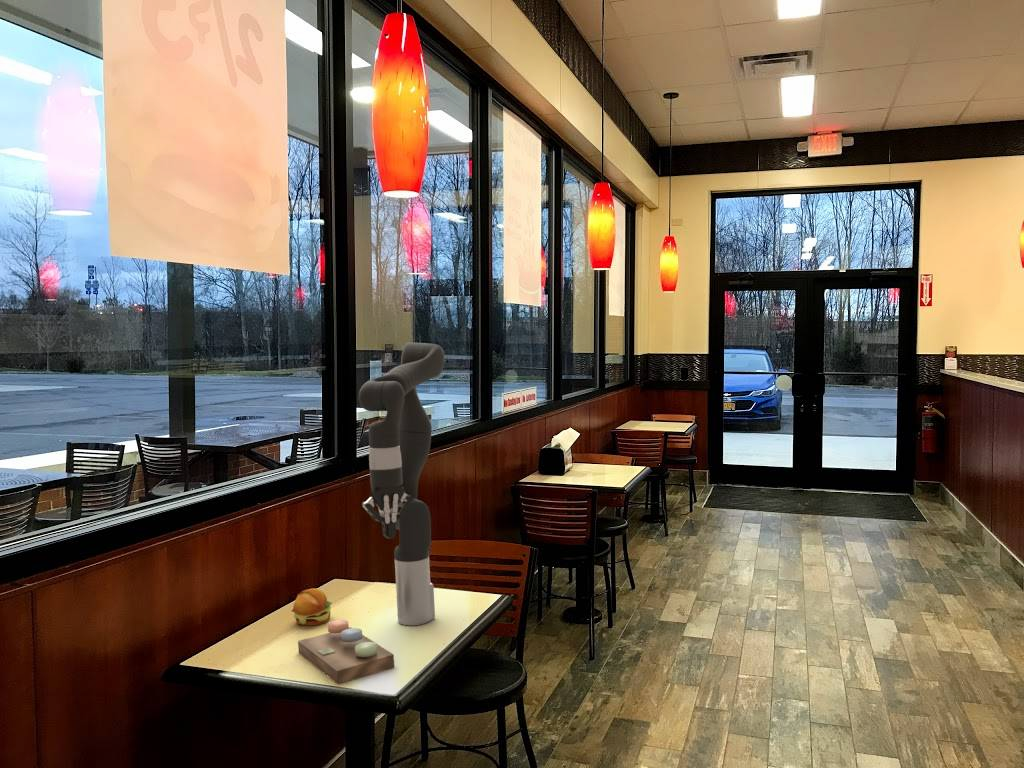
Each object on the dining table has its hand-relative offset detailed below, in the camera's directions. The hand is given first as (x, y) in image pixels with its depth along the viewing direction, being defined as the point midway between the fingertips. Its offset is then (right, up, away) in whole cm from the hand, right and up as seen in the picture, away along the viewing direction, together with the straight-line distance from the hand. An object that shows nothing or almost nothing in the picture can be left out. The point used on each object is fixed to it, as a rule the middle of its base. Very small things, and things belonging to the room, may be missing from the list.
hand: (389, 537), depth 192 cm
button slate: (-10, -25, +2) cm, 27 cm away
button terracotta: (-14, -25, +9) cm, 30 cm away
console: (-11, -30, +2) cm, 31 cm away
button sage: (-5, -26, -4) cm, 27 cm away
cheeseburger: (-25, -29, +30) cm, 49 cm away
